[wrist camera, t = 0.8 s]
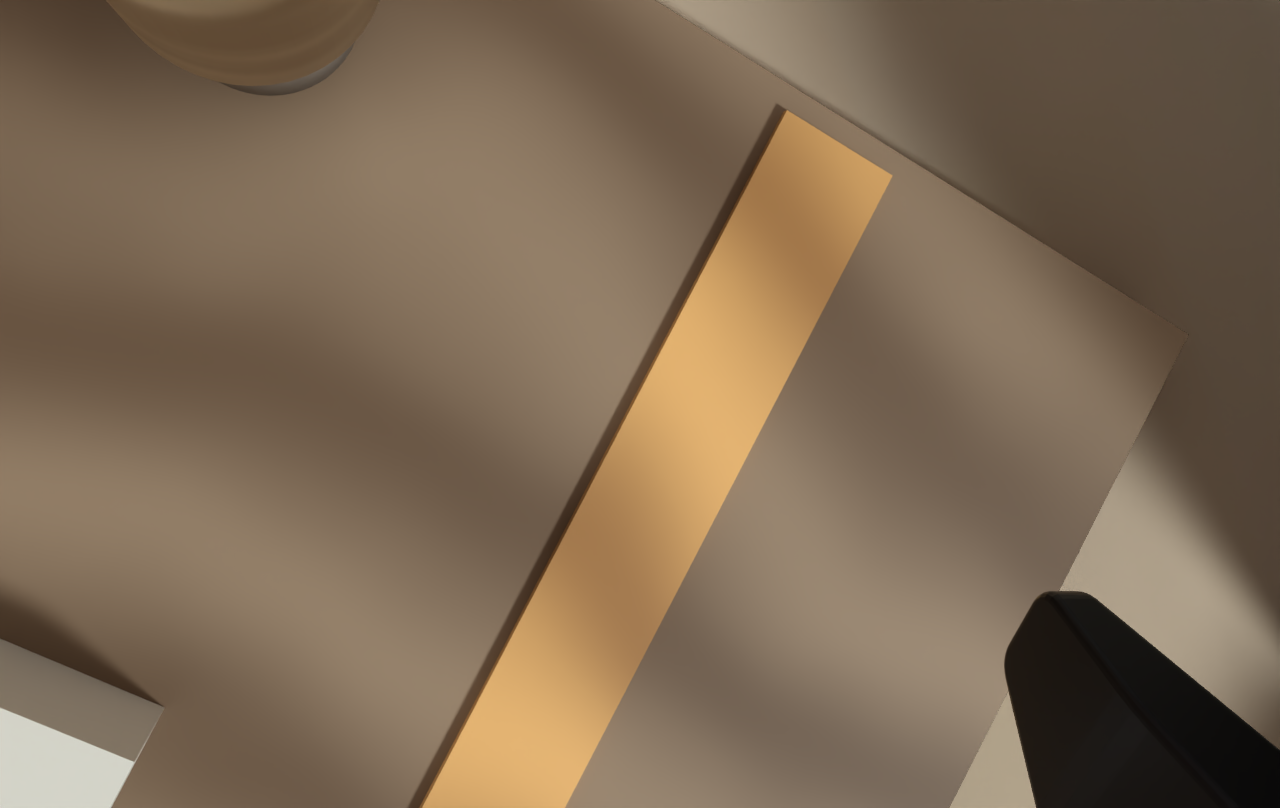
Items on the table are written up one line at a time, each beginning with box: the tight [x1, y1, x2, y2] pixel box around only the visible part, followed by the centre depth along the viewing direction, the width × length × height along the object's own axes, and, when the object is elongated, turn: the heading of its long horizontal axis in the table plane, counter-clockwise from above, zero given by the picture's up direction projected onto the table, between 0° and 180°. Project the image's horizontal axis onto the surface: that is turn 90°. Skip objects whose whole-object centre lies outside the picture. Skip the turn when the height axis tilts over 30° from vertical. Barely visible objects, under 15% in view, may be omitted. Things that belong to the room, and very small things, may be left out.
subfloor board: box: [0, 0, 1189, 808], centre depth 22 cm, size 20×22×2 cm
